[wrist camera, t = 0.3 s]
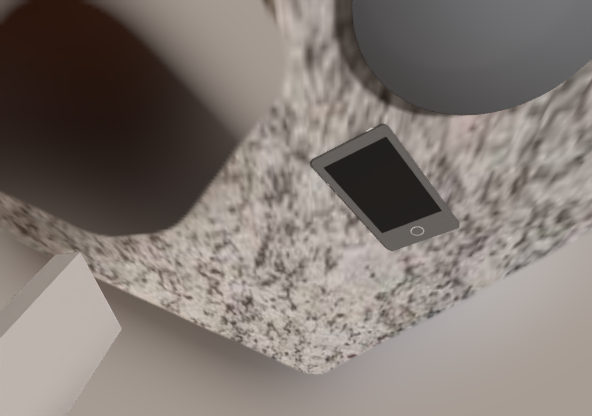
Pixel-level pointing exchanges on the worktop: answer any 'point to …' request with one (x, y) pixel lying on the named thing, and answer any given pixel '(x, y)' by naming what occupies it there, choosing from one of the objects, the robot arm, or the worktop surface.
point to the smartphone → (385, 188)
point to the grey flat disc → (473, 49)
